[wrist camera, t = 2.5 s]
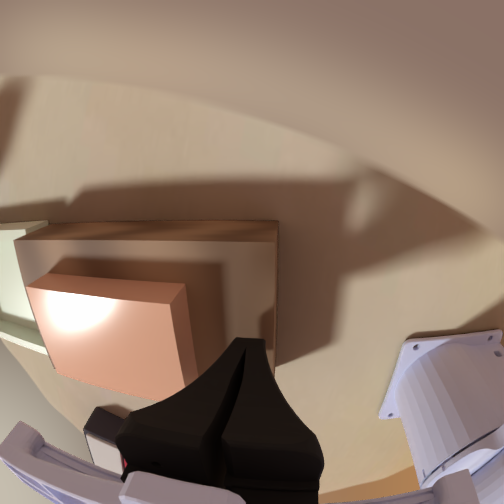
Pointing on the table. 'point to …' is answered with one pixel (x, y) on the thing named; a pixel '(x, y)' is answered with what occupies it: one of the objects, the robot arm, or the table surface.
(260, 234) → the brown wooden block
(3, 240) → the tray
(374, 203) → the table surface
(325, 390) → the table surface
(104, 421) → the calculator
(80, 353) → the tile
